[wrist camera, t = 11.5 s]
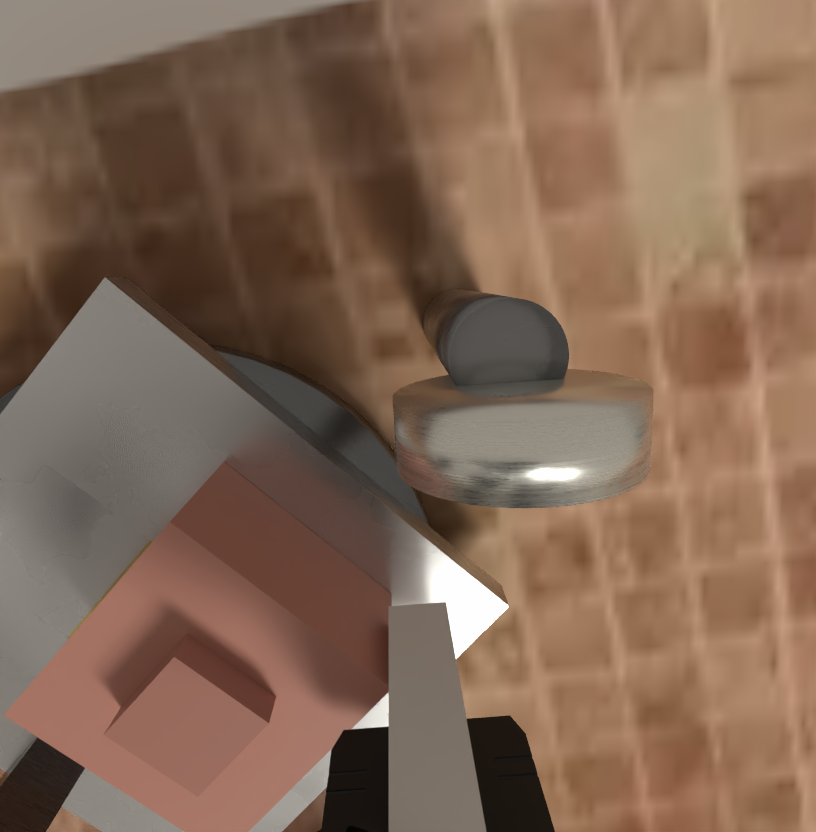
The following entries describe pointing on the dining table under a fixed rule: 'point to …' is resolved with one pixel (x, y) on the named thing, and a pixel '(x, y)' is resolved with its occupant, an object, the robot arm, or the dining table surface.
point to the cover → (217, 663)
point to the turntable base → (321, 421)
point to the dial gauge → (517, 412)
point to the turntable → (167, 521)
